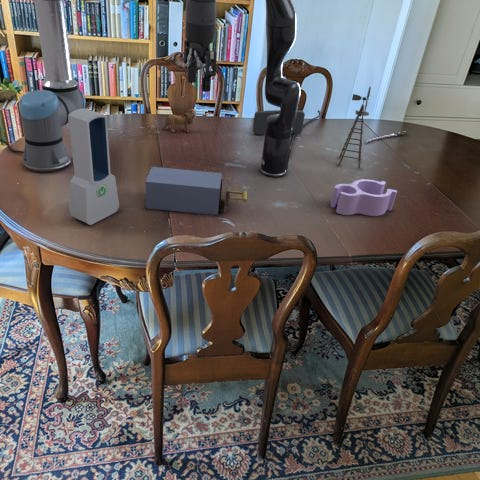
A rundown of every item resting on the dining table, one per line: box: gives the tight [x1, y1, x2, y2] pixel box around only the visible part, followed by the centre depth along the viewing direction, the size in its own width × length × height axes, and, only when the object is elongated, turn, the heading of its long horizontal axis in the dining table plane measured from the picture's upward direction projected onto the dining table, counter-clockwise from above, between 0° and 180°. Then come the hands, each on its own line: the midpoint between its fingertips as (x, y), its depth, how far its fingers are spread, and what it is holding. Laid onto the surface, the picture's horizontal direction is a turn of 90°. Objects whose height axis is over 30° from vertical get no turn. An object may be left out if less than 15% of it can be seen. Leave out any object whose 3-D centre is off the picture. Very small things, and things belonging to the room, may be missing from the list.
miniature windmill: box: [338, 86, 372, 169], centre depth 177 cm, size 9×8×30 cm
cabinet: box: [144, 166, 223, 216], centre depth 143 cm, size 22×11×9 cm, turn 89°
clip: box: [330, 178, 398, 217], centre depth 152 cm, size 20×12×7 cm, turn 109°
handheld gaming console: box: [252, 109, 306, 136], centre depth 203 cm, size 23×3×10 cm, turn 108°
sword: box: [365, 132, 406, 144], centre depth 214 cm, size 31×3×1 cm, turn 126°
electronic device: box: [68, 108, 120, 226], centre depth 127 cm, size 12×8×30 cm, turn 148°
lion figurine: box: [161, 108, 197, 133], centre depth 195 cm, size 15×5×9 cm, turn 110°
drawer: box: [218, 177, 248, 213], centre depth 143 cm, size 26×10×7 cm, turn 89°
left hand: (196, 67), depth 146 cm, fingers open, 13 cm apart
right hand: (198, 86), depth 124 cm, fingers open, 8 cm apart
